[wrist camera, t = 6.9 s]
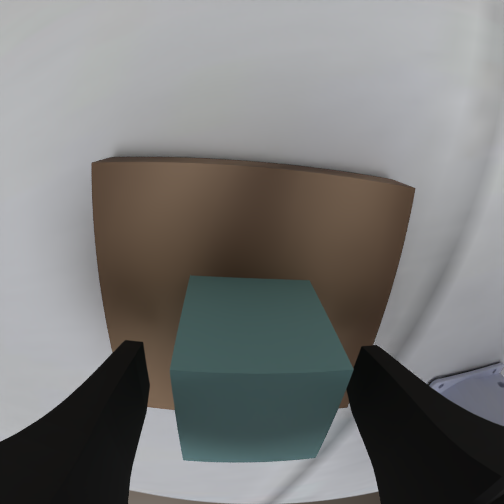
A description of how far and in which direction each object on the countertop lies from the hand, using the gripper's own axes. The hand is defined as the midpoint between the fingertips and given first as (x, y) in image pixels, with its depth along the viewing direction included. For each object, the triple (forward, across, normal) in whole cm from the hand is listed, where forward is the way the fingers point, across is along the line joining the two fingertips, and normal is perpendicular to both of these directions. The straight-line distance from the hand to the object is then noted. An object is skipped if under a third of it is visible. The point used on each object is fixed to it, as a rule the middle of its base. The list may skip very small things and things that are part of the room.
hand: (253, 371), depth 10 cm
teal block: (+3, 0, 0) cm, 3 cm away
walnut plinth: (+5, 0, 0) cm, 5 cm away
